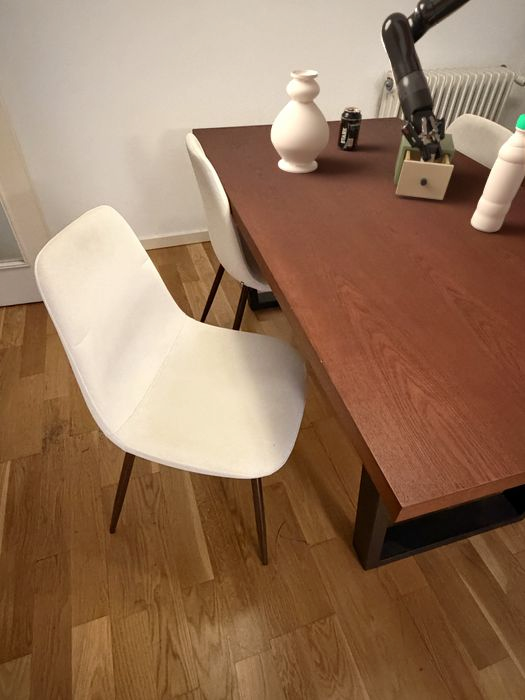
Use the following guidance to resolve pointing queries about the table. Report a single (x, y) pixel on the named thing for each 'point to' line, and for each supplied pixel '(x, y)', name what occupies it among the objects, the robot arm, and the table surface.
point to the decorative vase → (300, 125)
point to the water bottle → (502, 182)
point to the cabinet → (445, 145)
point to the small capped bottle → (431, 151)
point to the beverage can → (349, 128)
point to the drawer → (424, 176)
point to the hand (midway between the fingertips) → (433, 159)
